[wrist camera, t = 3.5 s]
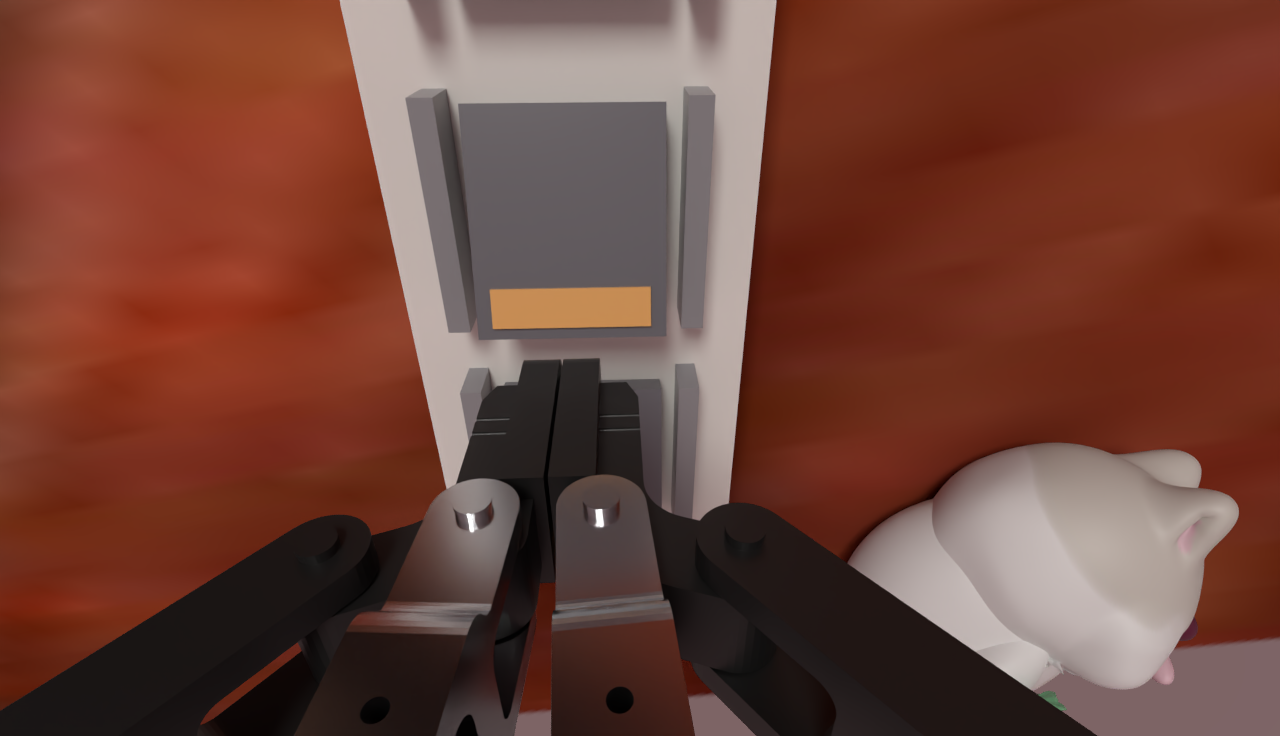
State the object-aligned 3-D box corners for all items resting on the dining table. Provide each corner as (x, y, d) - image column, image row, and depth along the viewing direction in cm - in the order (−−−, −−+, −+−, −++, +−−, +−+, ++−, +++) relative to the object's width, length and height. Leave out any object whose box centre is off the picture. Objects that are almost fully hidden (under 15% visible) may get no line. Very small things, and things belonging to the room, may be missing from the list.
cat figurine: (905, 829, 23) (1402, 679, 16) (760, 652, 24) (1164, 433, 17) (919, 661, 31) (1250, 511, 24) (810, 534, 32) (1097, 353, 25)
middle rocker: (468, 108, 15) (456, 102, 14) (663, 106, 16) (666, 101, 15) (486, 331, 17) (478, 340, 16) (663, 327, 17) (666, 337, 16)
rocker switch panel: (306, -401, 13) (183, -551, 9) (783, -395, 13) (848, -539, 10) (471, 476, 26) (447, 560, 22) (715, 470, 26) (732, 552, 22)
